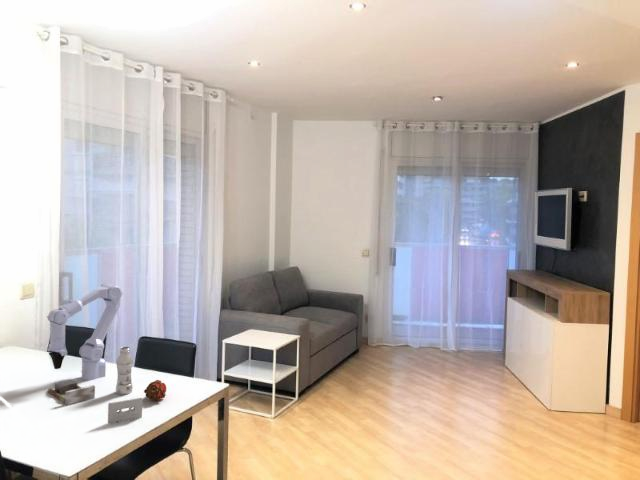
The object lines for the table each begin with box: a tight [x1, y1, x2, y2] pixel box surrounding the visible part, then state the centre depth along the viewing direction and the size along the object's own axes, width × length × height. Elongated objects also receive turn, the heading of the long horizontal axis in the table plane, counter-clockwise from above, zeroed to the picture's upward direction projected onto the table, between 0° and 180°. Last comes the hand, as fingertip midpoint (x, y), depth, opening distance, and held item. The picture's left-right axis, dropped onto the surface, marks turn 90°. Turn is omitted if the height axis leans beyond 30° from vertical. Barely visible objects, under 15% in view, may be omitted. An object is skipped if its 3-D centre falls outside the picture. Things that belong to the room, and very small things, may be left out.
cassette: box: [107, 397, 143, 425], centre depth 182 cm, size 12×2×8 cm, turn 124°
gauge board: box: [46, 384, 96, 406], centre depth 201 cm, size 11×20×6 cm, turn 49°
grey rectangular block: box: [54, 379, 78, 395], centre depth 204 cm, size 7×5×4 cm
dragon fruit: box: [143, 379, 167, 402], centre depth 203 cm, size 8×8×12 cm
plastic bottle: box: [115, 346, 134, 396], centre depth 206 cm, size 6×7×20 cm
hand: (57, 368), depth 210 cm, fingers closed
